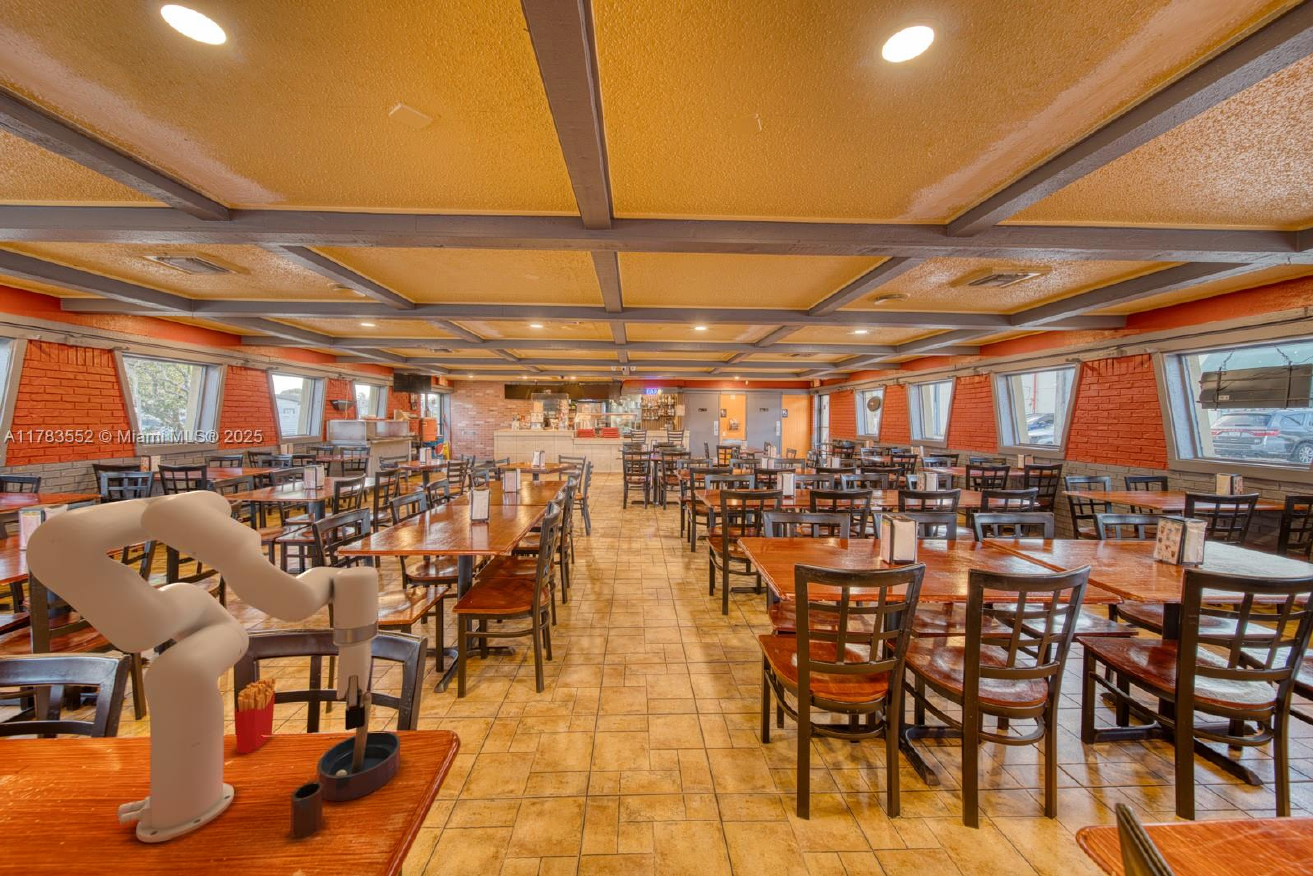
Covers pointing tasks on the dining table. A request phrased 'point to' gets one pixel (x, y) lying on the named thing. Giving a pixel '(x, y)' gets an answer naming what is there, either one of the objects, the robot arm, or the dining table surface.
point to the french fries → (254, 715)
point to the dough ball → (341, 773)
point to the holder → (306, 809)
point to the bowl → (376, 767)
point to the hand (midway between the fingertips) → (355, 723)
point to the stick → (361, 738)
